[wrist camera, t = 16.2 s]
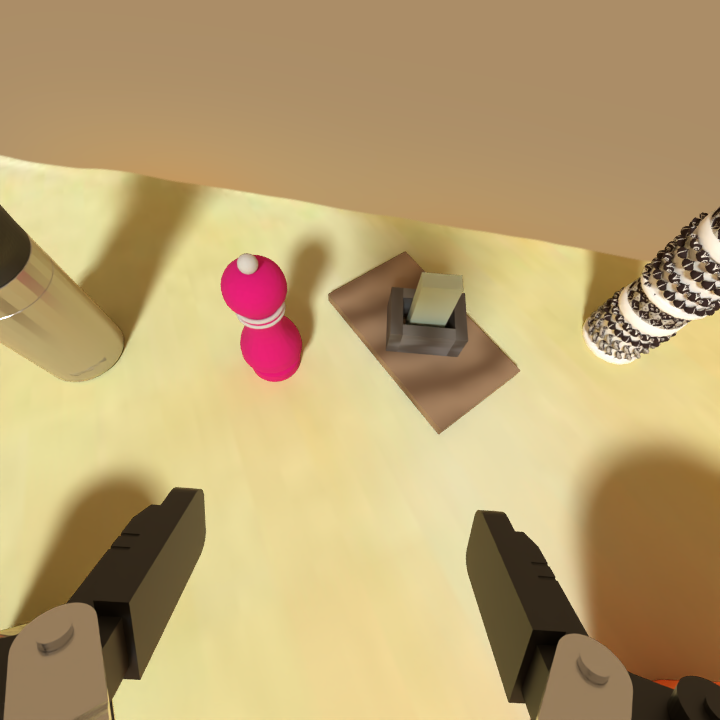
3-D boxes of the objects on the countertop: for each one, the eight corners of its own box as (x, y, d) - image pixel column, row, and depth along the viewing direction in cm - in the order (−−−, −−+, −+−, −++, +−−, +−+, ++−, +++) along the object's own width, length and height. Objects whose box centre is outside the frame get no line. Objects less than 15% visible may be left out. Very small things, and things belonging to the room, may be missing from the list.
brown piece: (438, 434, 47) (452, 420, 42) (328, 300, 55) (328, 273, 50) (515, 375, 52) (537, 355, 46) (403, 258, 59) (410, 229, 54)
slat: (405, 336, 51) (422, 286, 42) (405, 323, 52) (422, 272, 42) (438, 339, 52) (463, 290, 42) (437, 326, 52) (462, 275, 43)
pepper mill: (310, 377, 50) (297, 281, 32) (254, 392, 48) (207, 300, 30) (296, 330, 52) (278, 218, 35) (243, 343, 51) (195, 233, 33)
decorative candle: (572, 309, 57) (728, 156, 35) (632, 312, 58) (823, 163, 35) (587, 365, 53) (774, 233, 31) (651, 368, 54) (881, 239, 31)
